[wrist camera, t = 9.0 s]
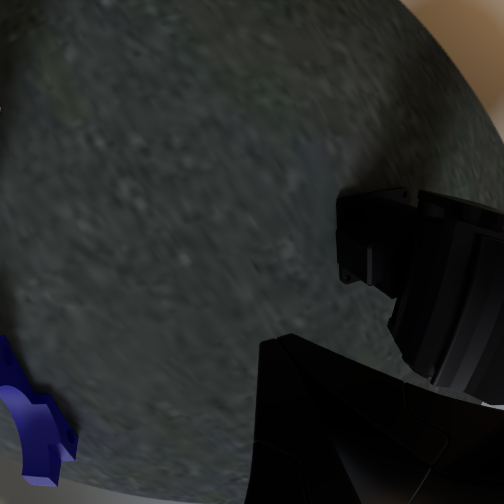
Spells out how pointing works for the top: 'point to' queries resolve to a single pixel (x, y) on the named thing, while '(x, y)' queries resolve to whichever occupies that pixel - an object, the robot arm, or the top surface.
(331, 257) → the top surface
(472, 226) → the robot arm
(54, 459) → the blue notched block
